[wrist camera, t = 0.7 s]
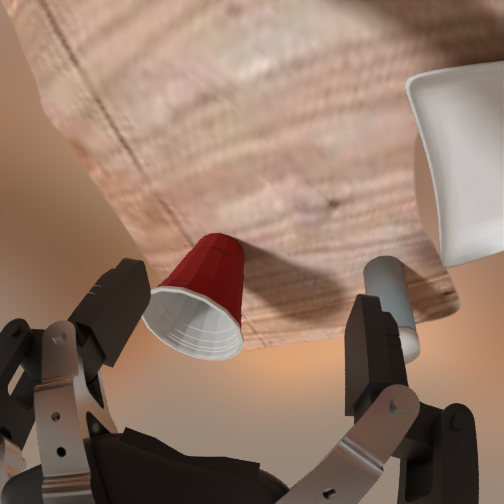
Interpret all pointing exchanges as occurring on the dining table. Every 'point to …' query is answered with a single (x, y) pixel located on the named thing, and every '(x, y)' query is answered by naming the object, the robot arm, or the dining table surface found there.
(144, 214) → the dining table surface
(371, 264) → the shaker
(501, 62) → the salad plate
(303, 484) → the robot arm
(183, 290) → the plastic cup
